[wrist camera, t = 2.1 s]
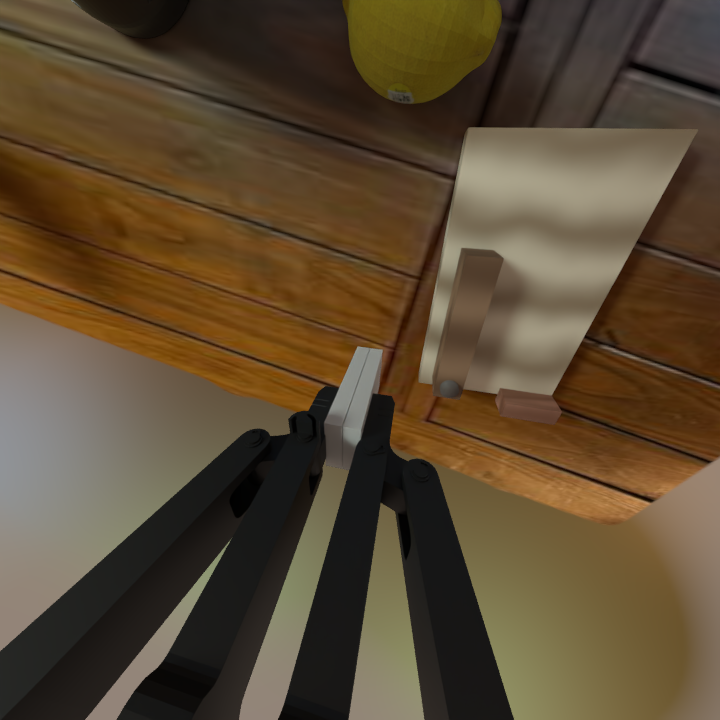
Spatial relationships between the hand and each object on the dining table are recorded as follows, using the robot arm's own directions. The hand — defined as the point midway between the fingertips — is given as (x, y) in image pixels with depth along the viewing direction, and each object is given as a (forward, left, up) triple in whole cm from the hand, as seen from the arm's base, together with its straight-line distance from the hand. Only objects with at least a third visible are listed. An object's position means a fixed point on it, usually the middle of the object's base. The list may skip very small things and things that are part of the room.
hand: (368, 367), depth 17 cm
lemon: (-19, 0, -19) cm, 27 cm away
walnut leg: (+3, +8, -16) cm, 18 cm away
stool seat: (-1, +13, -18) cm, 22 cm away
